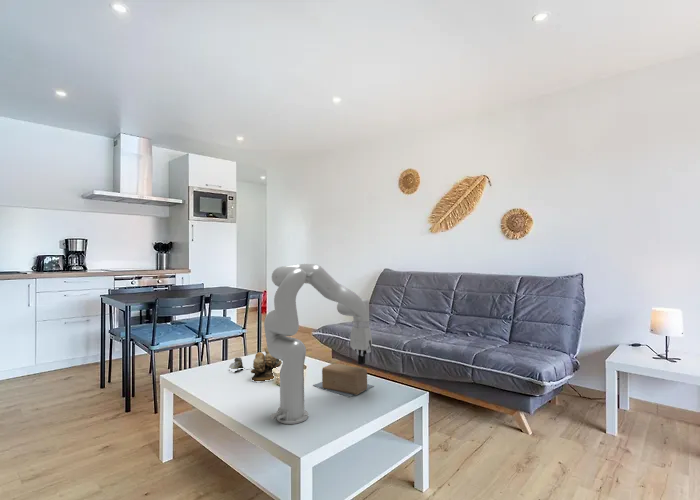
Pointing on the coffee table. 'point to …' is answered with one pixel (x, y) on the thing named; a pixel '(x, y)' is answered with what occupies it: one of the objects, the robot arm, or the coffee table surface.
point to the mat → (340, 391)
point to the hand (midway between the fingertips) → (361, 363)
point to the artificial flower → (236, 364)
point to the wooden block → (344, 378)
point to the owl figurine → (264, 366)
